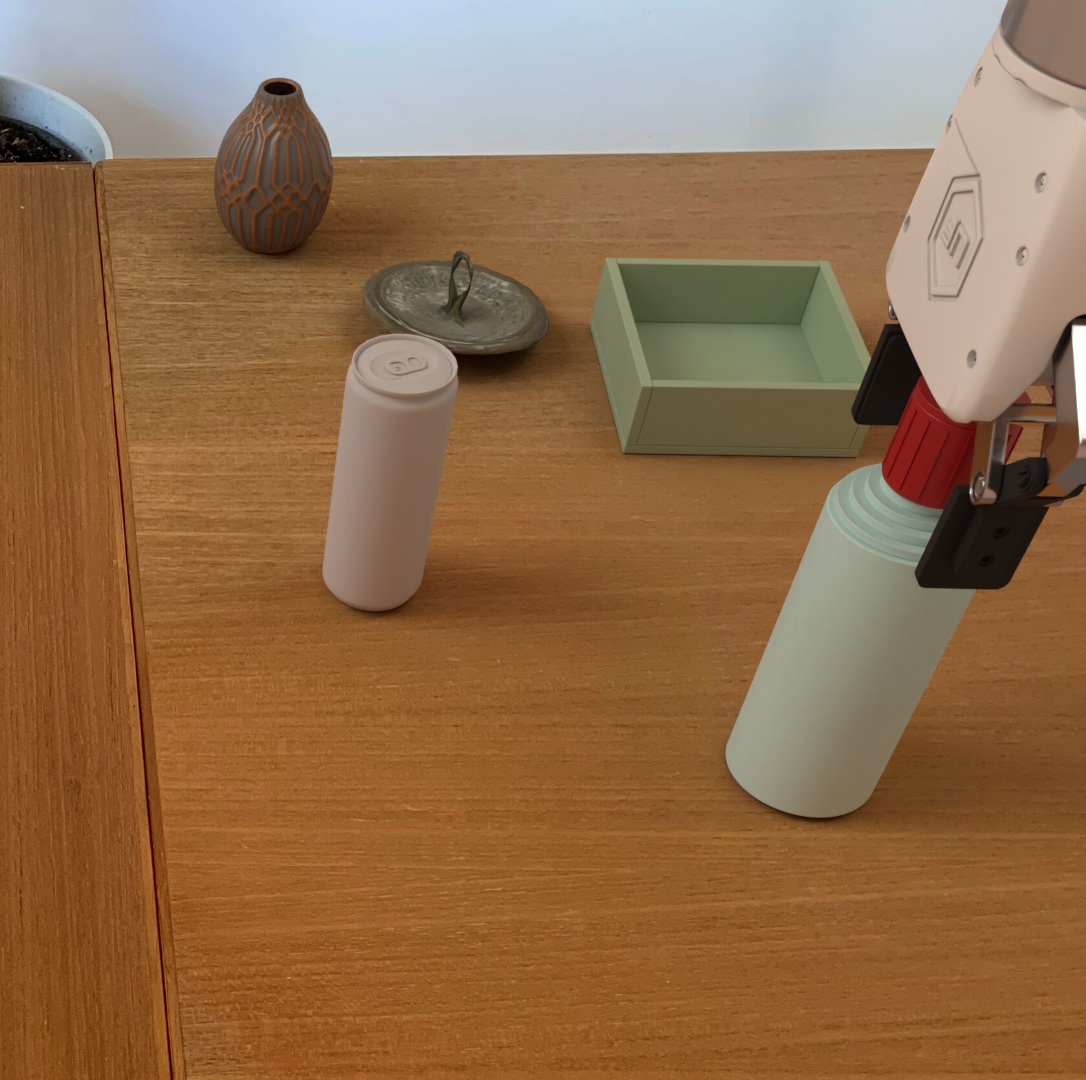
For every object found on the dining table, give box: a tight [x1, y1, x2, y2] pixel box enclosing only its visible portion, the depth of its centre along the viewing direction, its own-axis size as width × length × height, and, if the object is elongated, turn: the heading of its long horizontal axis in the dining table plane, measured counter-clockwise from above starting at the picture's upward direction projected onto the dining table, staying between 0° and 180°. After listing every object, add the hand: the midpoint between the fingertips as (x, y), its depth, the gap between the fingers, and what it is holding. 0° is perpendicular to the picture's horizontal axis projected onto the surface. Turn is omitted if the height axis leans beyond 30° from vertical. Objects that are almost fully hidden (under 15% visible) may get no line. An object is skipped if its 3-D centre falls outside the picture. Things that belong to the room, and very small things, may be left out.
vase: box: [213, 77, 334, 254], centre depth 98 cm, size 7×7×9 cm
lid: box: [361, 249, 551, 355], centre depth 94 cm, size 11×10×5 cm
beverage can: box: [321, 333, 459, 612], centre depth 77 cm, size 5×5×12 cm
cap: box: [881, 374, 1032, 510], centre depth 61 cm, size 4×4×4 cm
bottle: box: [725, 462, 977, 819], centre depth 67 cm, size 6×6×18 cm
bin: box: [589, 257, 872, 458], centre depth 90 cm, size 12×12×4 cm
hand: (922, 498), depth 63 cm, fingers open, 9 cm apart
